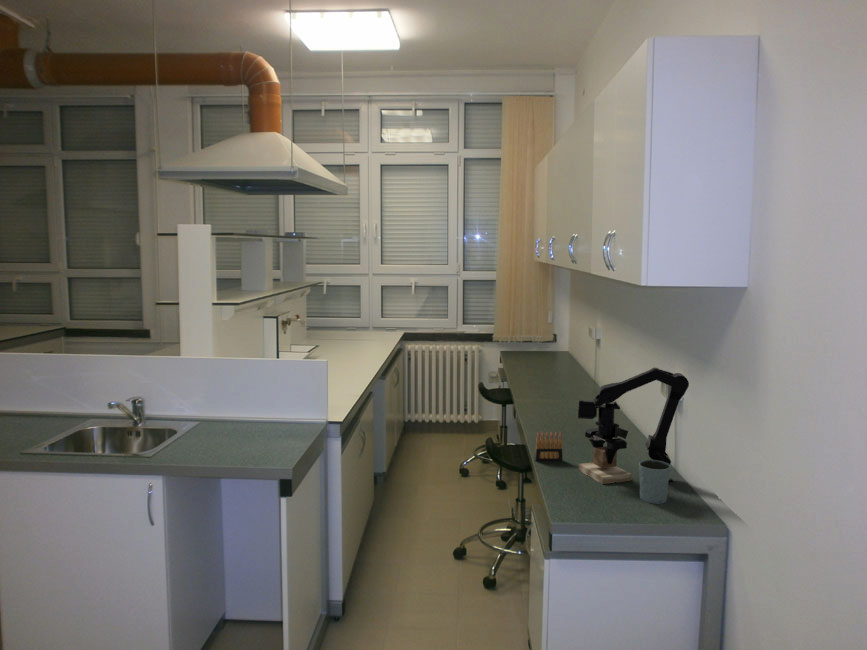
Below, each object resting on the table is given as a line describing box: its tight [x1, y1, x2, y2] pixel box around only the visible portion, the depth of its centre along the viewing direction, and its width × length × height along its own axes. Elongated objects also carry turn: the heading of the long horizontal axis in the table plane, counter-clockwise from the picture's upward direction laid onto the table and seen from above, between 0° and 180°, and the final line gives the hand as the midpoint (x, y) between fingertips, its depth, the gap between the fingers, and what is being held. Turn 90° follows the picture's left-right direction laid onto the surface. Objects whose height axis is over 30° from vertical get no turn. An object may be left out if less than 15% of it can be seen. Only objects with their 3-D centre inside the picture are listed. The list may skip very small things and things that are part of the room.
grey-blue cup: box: [638, 459, 672, 505], centre depth 225 cm, size 10×10×12 cm
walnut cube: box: [592, 446, 618, 468], centre depth 249 cm, size 6×6×6 cm
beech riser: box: [578, 461, 632, 485], centre depth 249 cm, size 16×12×2 cm
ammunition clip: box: [534, 430, 563, 463], centre depth 266 cm, size 11×2×12 cm, turn 92°
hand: (604, 461), depth 249 cm, fingers closed on walnut cube, 6 cm apart
